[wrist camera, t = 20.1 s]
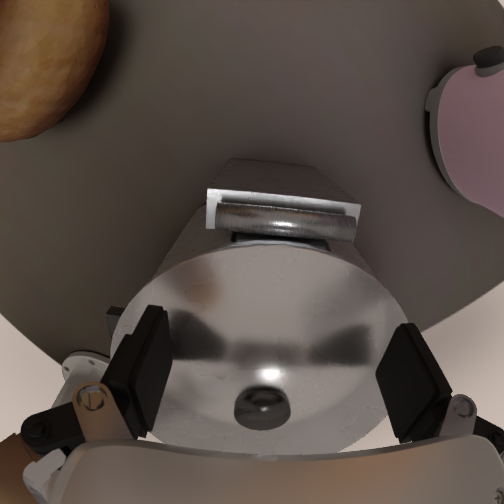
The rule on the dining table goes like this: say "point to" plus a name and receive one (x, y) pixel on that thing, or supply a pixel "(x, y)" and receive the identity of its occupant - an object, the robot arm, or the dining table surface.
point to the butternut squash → (46, 60)
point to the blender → (471, 129)
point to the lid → (270, 338)
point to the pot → (262, 194)
